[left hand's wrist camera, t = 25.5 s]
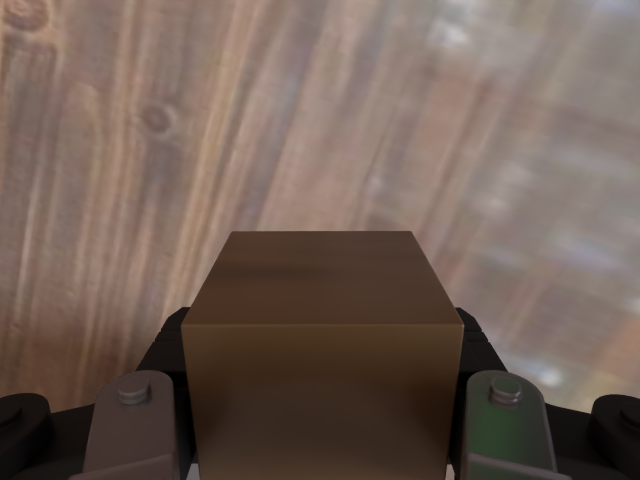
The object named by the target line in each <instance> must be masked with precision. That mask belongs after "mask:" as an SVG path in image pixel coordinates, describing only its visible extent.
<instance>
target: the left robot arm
mask: <svg viewBox="0 0 640 480" xmlns="http://www.w3.org/2000/svg"><path fill="white" fill-rule="evenodd" d="M189 309H190V307H182V308H181V309H179V310H178V311H177V312H175V313H174V314H172V315H171V316H170V317H168V319H167V320H166V322H165V324H164V325H163V327H162V328H161V332H159V333H158V335H157V337H156V338H155V342H153V343H152V345H151V346H150V348H149V350H148V351H147V353H146V355H145V356H144V358H143V359H142V361H141V363H140V364H139V366H138V368H137V369H136V371H135V372H131V373H128V374H125V375H122V376H120V377H118V378H116V379H114V380H112V381H111V382H109V383H108V384H107V385H106V386H104V387H103V388H102V390H101V391H100V392H99V394H98V395H97V398H96V402H95V403H94V404H91V405H88V406H84V407H79V408H74V409H70V410H65V411H60V412H56V413H51V411H50V407H49V403H48V401H47V399H46V398H45V397H43V396H41V395H38V394H34V393H21V394H14V395H9V396H6V397H2V398H0V480H186V479H187V476H188V473H189V470H190V467H191V464H198V461H197V453H196V445H195V437H194V429H193V421H192V413H191V405H190V397H189V389H188V381H187V373H186V365H185V357H184V349H183V341H182V333H181V324H182V322H183V320H184V318H185V317H186V315H187V313H188V311H189ZM455 309H456V311H457V313H458V314H459V316H460V318H461V320H462V321H463V323H464V333H463V341H462V349H461V357H460V365H459V373H458V381H457V389H456V397H455V405H454V413H453V421H452V429H451V437H450V445H449V453H448V461H447V464H452V467H453V470H454V473H455V476H454V480H640V399H638V398H635V397H631V396H626V395H618V394H610V395H604V396H601V397H599V398H598V399H596V400H595V402H594V404H593V407H592V411H591V414H589V413H585V412H580V411H575V410H571V409H566V408H561V407H557V406H553V405H550V404H547V403H545V402H544V398H543V395H542V394H541V392H540V391H539V390H538V388H537V387H536V386H534V385H533V384H532V383H531V382H529V381H528V380H526V379H524V378H522V377H520V376H518V375H515V374H512V373H509V372H508V371H507V369H506V368H505V366H504V365H503V363H502V361H501V360H500V358H499V357H498V355H497V353H496V352H495V350H494V349H493V347H492V345H491V344H490V342H488V339H487V337H486V336H485V334H484V332H482V329H481V328H480V326H479V324H478V323H477V321H476V320H475V318H474V317H473V316H471V315H470V314H468V313H467V312H466V311H464V310H463V309H461V308H455Z"/></svg>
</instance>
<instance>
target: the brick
mask: <svg viewBox="0 0 640 480" xmlns="http://www.w3.org/2000/svg"><path fill="white" fill-rule="evenodd" d="M181 333H182V341H183V349H184V357H185V365H186V373H187V381H188V389H189V397H190V405H191V413H192V421H193V429H194V437H195V445H196V453H197V461H198V469H199V477H200V480H445V478H446V470H447V461H448V453H449V445H450V437H451V429H452V421H453V413H454V405H455V397H456V389H457V381H458V373H459V365H460V357H461V349H462V341H463V333H464V323H463V321H462V320H461V318H460V316H459V314H458V313H457V311H456V309H455V307H454V306H453V304H452V302H451V300H450V299H449V297H448V295H447V293H446V291H445V290H444V288H443V286H442V284H441V283H440V281H439V279H438V277H437V276H436V274H435V272H434V270H433V269H432V267H431V265H430V263H429V261H428V260H427V258H426V256H425V254H424V253H423V251H422V249H421V247H420V246H419V244H418V242H417V240H416V238H415V237H414V235H413V233H412V232H411V231H233V232H231V234H230V236H229V238H228V239H227V241H226V243H225V245H224V247H223V249H222V250H221V252H220V254H219V256H218V258H217V260H216V261H215V263H214V265H213V267H212V269H211V271H210V272H209V274H208V276H207V278H206V280H205V282H204V284H203V285H202V287H201V289H200V291H199V293H198V295H197V296H196V298H195V300H194V302H193V304H192V306H191V307H190V309H189V311H188V313H187V315H186V317H185V318H184V320H183V322H182V324H181Z"/></svg>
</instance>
